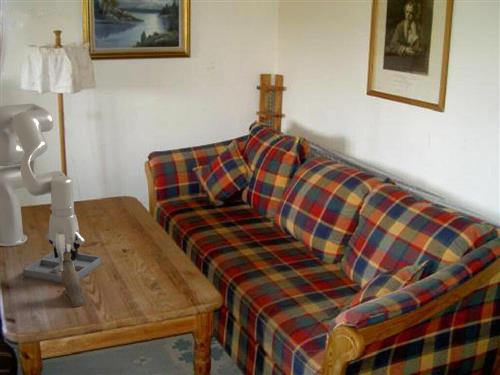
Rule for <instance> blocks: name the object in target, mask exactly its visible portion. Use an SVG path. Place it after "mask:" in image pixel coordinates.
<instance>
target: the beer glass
mask: <svg viewBox="0 0 500 375" xmlns="http://www.w3.org/2000/svg"><path fill="white" fill-rule="evenodd" d="M73 244H74V246H75V242H74V243H73ZM55 245H56V250H57V254H58V258H59V267H58V270H59V272H62V271H63V265H62V264H63V260H64V259H63V253H64V252H66V251H68V252H70V253H71V250H72V249H71V244H66V243H65V237H64V234H59V233H56V242H55ZM70 260H71V258H70ZM72 262H73V265H74V269H76V267H75V263H74V261H72Z"/></svg>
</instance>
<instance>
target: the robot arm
mask: <svg viewBox="0 0 500 375" xmlns="http://www.w3.org/2000/svg"><path fill="white" fill-rule="evenodd" d="M53 127H54V119H53V117H52V115H51V114H50V112H49V111H48V110H47V109H46V108H44V107H42V106H40V105H37V104H34V103H22V104H21V103H20V104H10V105H2V106H1V105H0V246H1V247H16V246H20V245H22V244H24V243H26V242H27V241H28V236H27V235H26V234H24V231H23V230H24V229H23V218H22V207H21V206H22V205H21V200H20V197H19V196H18V195H17V194H16V193H15V192H14V191H15V190H19V189H24V188H26V190H27V191H28V193H29V194H30V195H31V196H33V197H34V196H35V197H38V196H45V195H48V194H50V202H51V203H50V204H51V206H49V211H51V212H52V213H51V214H50V215H49V221H48V233H46V235H45V238H46V239H47V240H48V242H49V243H50V244H51V247H52V248H53V251H54V255H55V258H58V254H57V250H56V245H55V242H56V233H59V234H64V237H65V243H66V244H71V249H72V250H71V260H72V261H74V260H76V259H77V258H78V253H79V251H78V249H79V248H80V247H81V246H82V245H83V244H84V243H85V241H86V240H85V239H84V238H83V237H82V236H81V234H80V228H79V223H78V218H77V215H76V213H75V202H74V201H75V200H74V188H73V179H72V178H71V177H70V176H67V175H66V174H65V173H64V172H63V171H61V170H60V171H59V170H55V171H50V172H49V171H48V172H43V173H37V158H38V157H40V156H42V155H43V154H44V153H46V152H47V150H48V146H49V145H48V142H47V140H46V138H45V136H44V134H43V133H45V132H50V131H51V130H52V129H53ZM17 139H18V140H17ZM74 242H75V246H74V244H73V243H74Z"/></svg>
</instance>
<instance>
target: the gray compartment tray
mask: <svg viewBox="0 0 500 375" xmlns="http://www.w3.org/2000/svg"><path fill="white" fill-rule="evenodd" d="M74 263H75V267H76V272H77V275H78V279H79V281H81V279H83V278H85V277H86V276H88V274H90V273H92V272H93V271H94V269H95V270H96V269H97V268H99V267H100V266H101V265H103V257H102V256H97V255H93V254H92V255H91V254H88V253H87V254H85V253H79V252H78V258H77V259H76V260H74ZM58 267H59V258H55V255H54V250H53V251H52V252H50V253H48V254H47V255H45V256H44V257H42V258H40V259H37V261H35V262H33V263H32V264H30V265H28V266H26V267H25V268H23V277H24V278H28V279H35V280H39V281H45V282H51V283H56V284H59V285H60V284H61V285H63V282H62V276H61V272H59V270H58Z"/></svg>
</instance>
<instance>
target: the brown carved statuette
mask: <svg viewBox="0 0 500 375" xmlns="http://www.w3.org/2000/svg"><path fill="white" fill-rule="evenodd" d="M70 258H71V253H70V252H68V251H66V252H64V253H63V259H64V260H63V264H62V265H63V271H62V272H61V276H62V282H63V284H62V285H63V286H64V290H63V291H62V292H61V296H62V297H63V298H64V299H65V300H66V302H67V303H68V304H69V305H70V306H71V307H72V308H79V307H83V306H86V305H87V303H88V302H87V298H86V297H85V294H84V292H83V289H82V286H81V283H80V280H79V279H78V275H77V272H76V269H74V265H73V262H72V260H70Z"/></svg>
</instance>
